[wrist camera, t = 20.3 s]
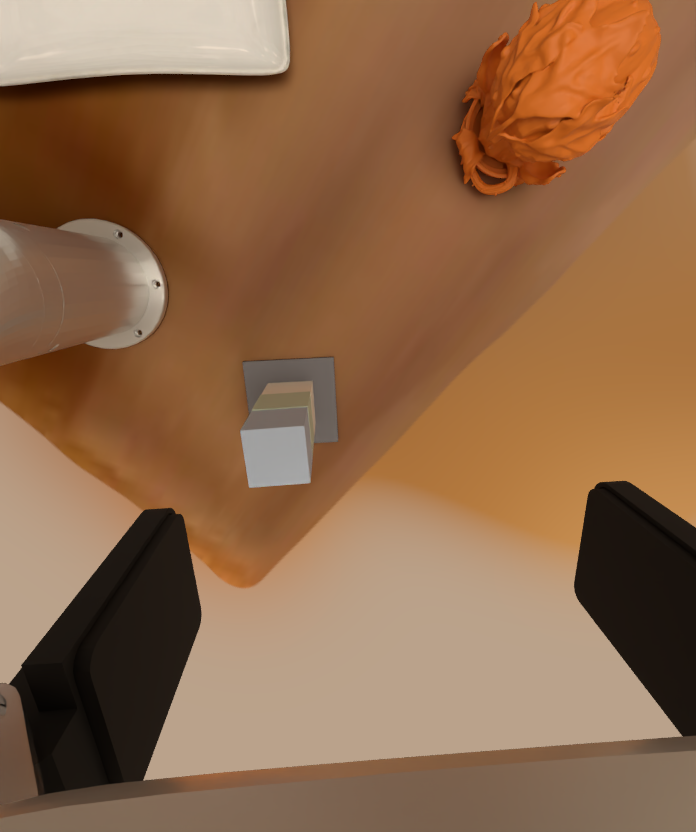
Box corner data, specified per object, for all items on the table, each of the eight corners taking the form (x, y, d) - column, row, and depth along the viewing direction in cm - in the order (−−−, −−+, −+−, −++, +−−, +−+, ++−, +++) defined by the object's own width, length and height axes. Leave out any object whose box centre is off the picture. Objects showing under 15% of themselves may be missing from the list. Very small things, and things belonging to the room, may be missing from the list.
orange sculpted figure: (571, 157, 42) (740, 75, 24) (475, 224, 43) (571, 190, 26) (522, 41, 38) (677, -147, 21) (420, 117, 40) (488, -1, 23)
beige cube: (272, 425, 49) (266, 441, 44) (267, 383, 47) (261, 395, 42) (315, 422, 49) (314, 438, 44) (312, 380, 47) (310, 392, 42)
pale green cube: (266, 440, 44) (258, 460, 39) (260, 394, 42) (251, 409, 37) (314, 437, 44) (312, 457, 39) (310, 391, 42) (307, 405, 38)
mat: (253, 445, 50) (252, 446, 49) (243, 361, 46) (242, 362, 46) (338, 440, 50) (338, 441, 50) (333, 356, 47) (333, 357, 46)
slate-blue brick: (258, 462, 39) (249, 487, 34) (251, 411, 38) (240, 430, 33) (312, 458, 39) (310, 482, 34) (307, 406, 38) (304, 425, 33)
